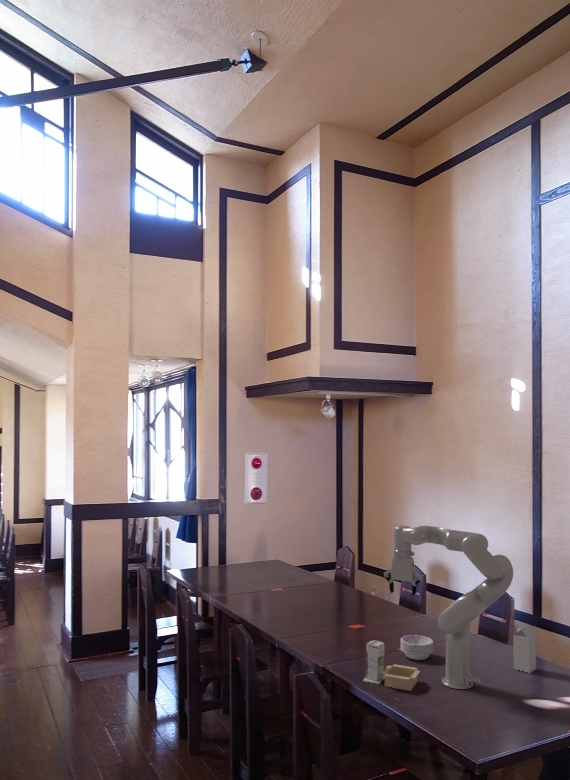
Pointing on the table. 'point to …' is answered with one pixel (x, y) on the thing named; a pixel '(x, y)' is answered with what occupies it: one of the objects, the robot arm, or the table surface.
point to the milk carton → (524, 650)
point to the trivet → (373, 680)
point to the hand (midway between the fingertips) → (402, 593)
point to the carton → (400, 677)
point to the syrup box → (374, 660)
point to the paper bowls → (417, 646)
